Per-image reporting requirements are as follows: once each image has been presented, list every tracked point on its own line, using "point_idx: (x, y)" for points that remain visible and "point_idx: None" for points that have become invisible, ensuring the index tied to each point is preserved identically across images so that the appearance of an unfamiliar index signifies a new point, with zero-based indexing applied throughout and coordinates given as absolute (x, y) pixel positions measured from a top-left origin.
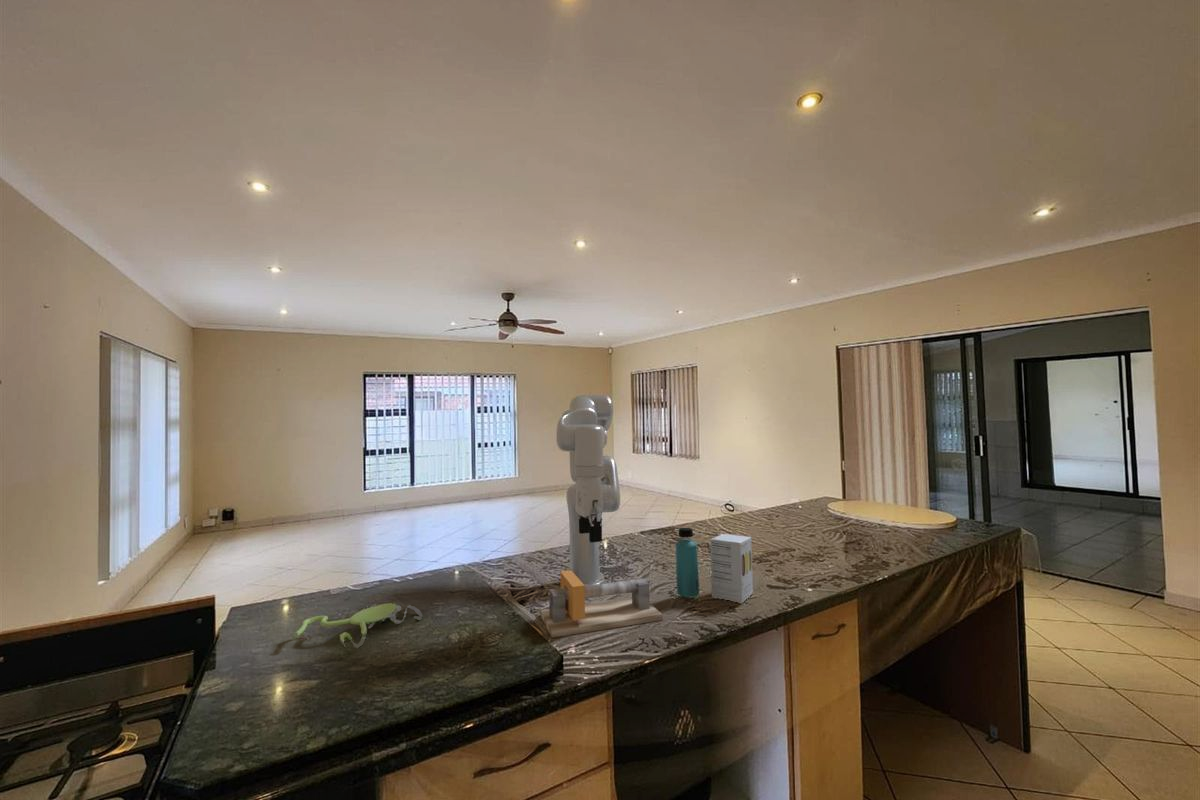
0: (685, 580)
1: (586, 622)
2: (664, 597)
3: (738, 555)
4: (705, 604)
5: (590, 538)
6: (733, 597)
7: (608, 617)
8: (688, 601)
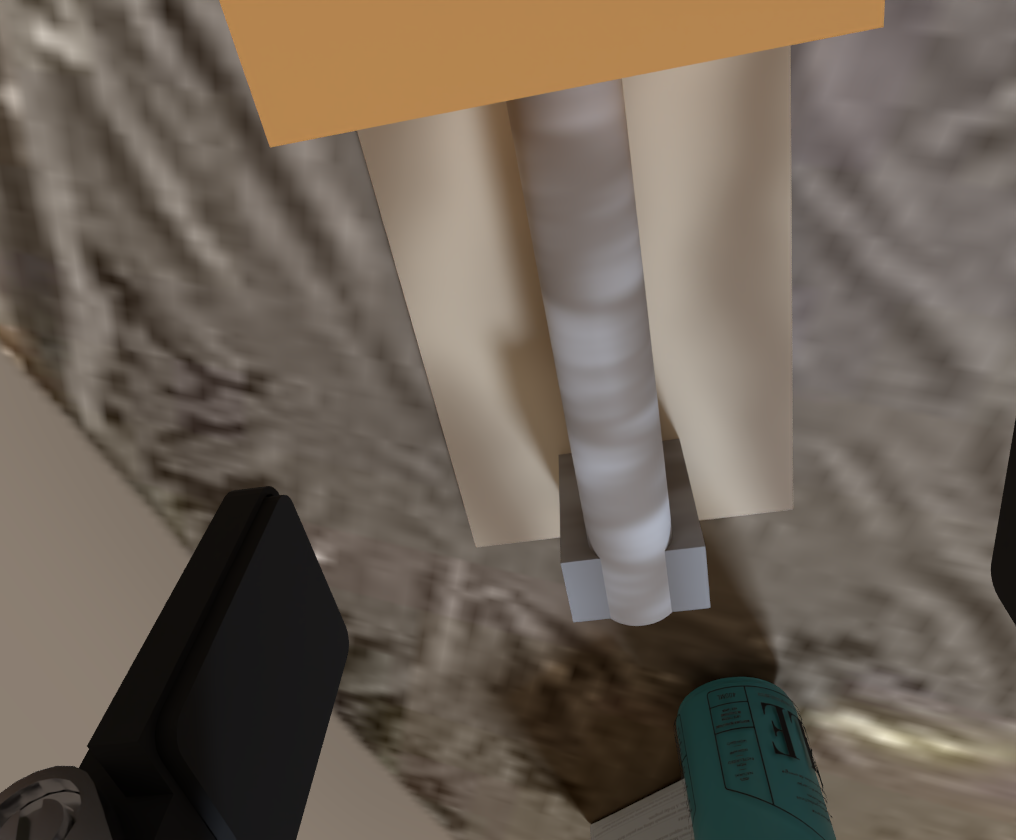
0: (700, 774)
1: None
2: (791, 606)
3: None
4: (631, 725)
5: (208, 539)
6: (616, 832)
7: (471, 256)
8: (692, 681)
